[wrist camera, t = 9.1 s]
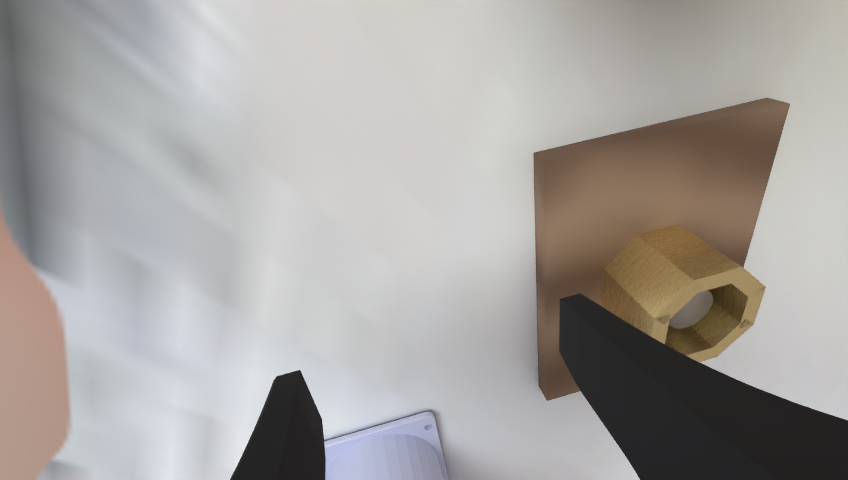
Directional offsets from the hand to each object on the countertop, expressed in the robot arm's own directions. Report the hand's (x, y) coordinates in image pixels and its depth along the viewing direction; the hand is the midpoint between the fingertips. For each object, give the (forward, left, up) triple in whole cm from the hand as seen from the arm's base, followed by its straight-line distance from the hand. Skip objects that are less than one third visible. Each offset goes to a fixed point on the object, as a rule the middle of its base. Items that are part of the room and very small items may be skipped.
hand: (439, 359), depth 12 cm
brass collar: (-7, -13, -8) cm, 17 cm away
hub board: (-7, -13, -9) cm, 18 cm away
